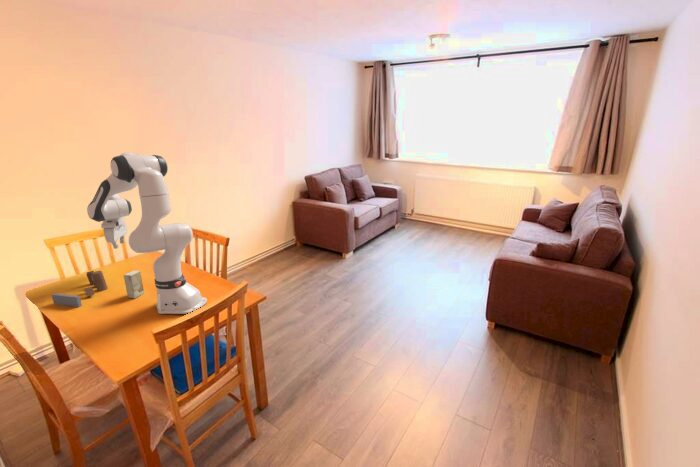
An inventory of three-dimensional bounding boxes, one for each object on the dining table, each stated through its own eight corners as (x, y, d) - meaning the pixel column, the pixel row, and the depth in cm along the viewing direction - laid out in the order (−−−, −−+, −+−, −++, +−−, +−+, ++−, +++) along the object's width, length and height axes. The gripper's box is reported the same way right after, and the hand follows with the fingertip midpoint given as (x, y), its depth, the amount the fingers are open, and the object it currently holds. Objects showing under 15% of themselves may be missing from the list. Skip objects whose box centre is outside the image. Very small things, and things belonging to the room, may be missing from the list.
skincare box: (134, 298, 164) (130, 275, 160) (127, 297, 165) (122, 275, 161) (145, 292, 170) (140, 270, 166) (137, 292, 171) (133, 269, 167)
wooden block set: (86, 286, 177) (80, 268, 173) (106, 280, 182) (100, 263, 178) (87, 299, 164) (80, 281, 160) (108, 293, 168) (102, 275, 165)
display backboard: (81, 305, 157) (79, 295, 156) (78, 307, 156) (76, 297, 154) (57, 302, 160) (54, 293, 158) (54, 304, 158) (51, 294, 157)
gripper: (114, 217, 189) (119, 240, 193) (99, 226, 170) (105, 251, 174) (127, 216, 190) (132, 239, 194) (113, 225, 171) (119, 250, 175)
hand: (119, 245), depth 184 cm, fingers open, 8 cm apart
